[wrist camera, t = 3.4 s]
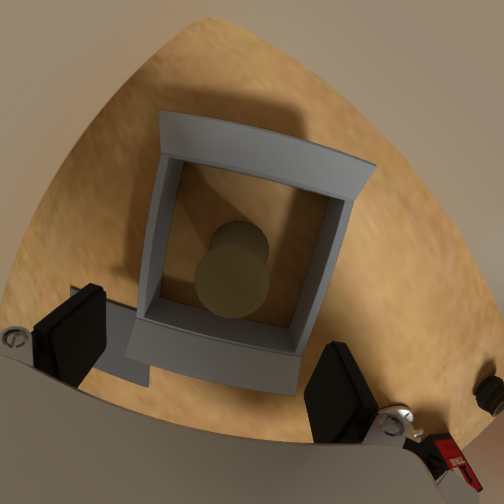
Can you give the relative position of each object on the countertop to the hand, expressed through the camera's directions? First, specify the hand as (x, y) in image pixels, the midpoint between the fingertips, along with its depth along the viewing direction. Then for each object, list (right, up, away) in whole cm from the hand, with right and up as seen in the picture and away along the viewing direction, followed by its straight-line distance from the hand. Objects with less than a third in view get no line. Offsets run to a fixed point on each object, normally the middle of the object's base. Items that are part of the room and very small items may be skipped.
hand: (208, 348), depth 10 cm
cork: (0, +4, +18) cm, 18 cm away
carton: (0, +4, +18) cm, 18 cm away
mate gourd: (+50, -24, +24) cm, 61 cm away
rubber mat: (-17, -8, +21) cm, 28 cm away
